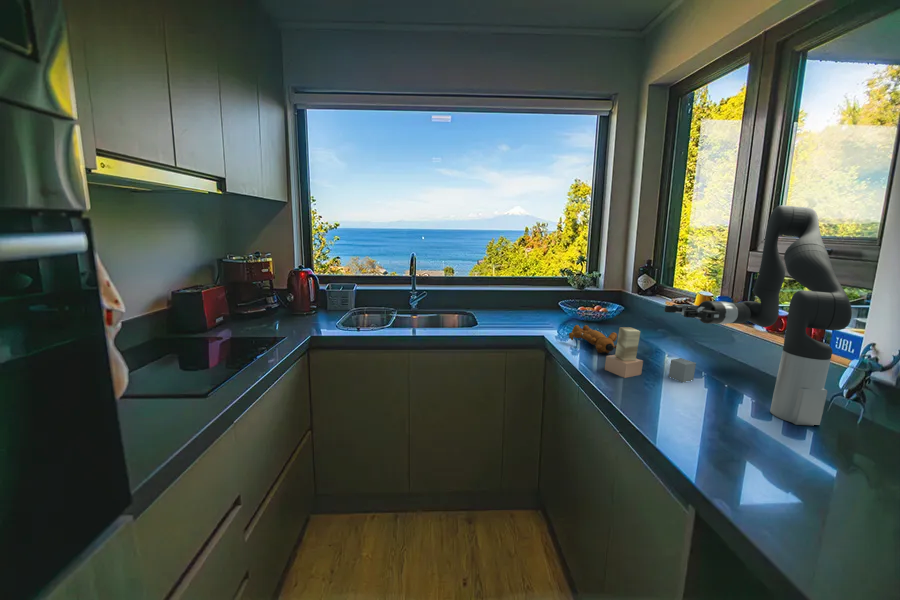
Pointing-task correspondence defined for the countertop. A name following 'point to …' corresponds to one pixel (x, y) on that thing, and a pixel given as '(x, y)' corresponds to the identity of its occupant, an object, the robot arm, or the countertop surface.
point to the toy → (595, 338)
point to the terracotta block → (623, 366)
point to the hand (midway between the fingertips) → (675, 311)
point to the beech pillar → (627, 343)
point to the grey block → (682, 370)
